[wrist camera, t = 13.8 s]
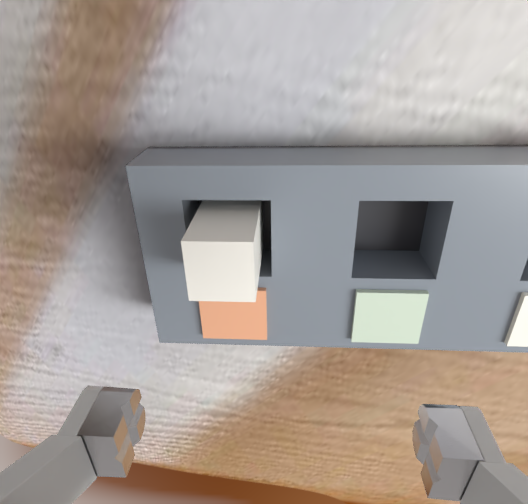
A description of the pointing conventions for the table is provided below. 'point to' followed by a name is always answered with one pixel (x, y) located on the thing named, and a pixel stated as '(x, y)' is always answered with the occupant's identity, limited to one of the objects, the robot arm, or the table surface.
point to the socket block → (348, 244)
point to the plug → (224, 251)
